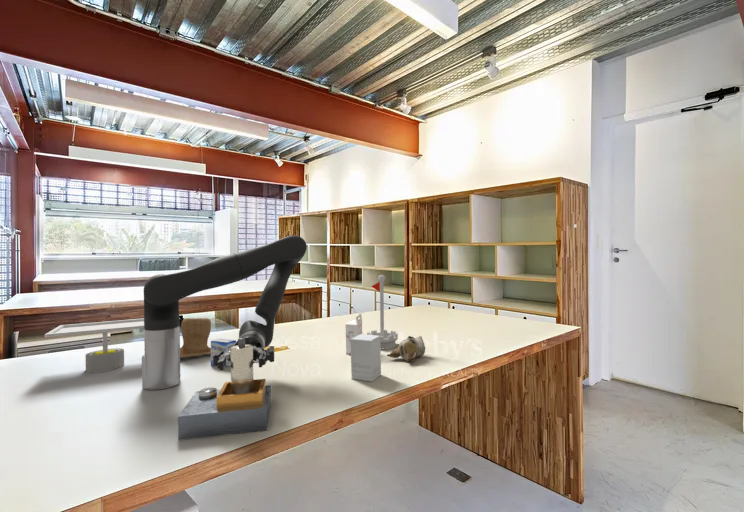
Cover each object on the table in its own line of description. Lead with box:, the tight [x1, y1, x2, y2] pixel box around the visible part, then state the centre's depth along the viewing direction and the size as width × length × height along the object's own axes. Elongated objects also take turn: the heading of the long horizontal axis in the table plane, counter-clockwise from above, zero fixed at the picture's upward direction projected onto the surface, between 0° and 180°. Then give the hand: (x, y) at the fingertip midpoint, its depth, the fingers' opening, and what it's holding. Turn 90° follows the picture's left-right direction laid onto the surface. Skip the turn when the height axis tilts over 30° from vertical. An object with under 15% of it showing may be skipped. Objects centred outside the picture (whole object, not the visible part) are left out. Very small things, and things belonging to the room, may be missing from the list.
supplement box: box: [350, 333, 382, 382], centre depth 112 cm, size 7×7×13 cm
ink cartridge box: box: [345, 313, 363, 355], centre depth 142 cm, size 9×5×15 cm, turn 168°
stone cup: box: [180, 317, 212, 360], centre depth 138 cm, size 15×12×15 cm
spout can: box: [230, 337, 255, 395], centre depth 84 cm, size 5×5×14 cm
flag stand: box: [366, 274, 399, 349], centre depth 151 cm, size 13×13×30 cm
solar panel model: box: [44, 317, 144, 373], centre depth 125 cm, size 28×17×15 cm, turn 118°
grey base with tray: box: [177, 378, 272, 441], centre depth 84 cm, size 18×14×8 cm
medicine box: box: [210, 338, 237, 368], centre depth 127 cm, size 8×4×9 cm, turn 68°
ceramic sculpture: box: [386, 335, 426, 363], centre depth 131 cm, size 11×9×15 cm
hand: (241, 364), depth 82 cm, fingers open, 8 cm apart
